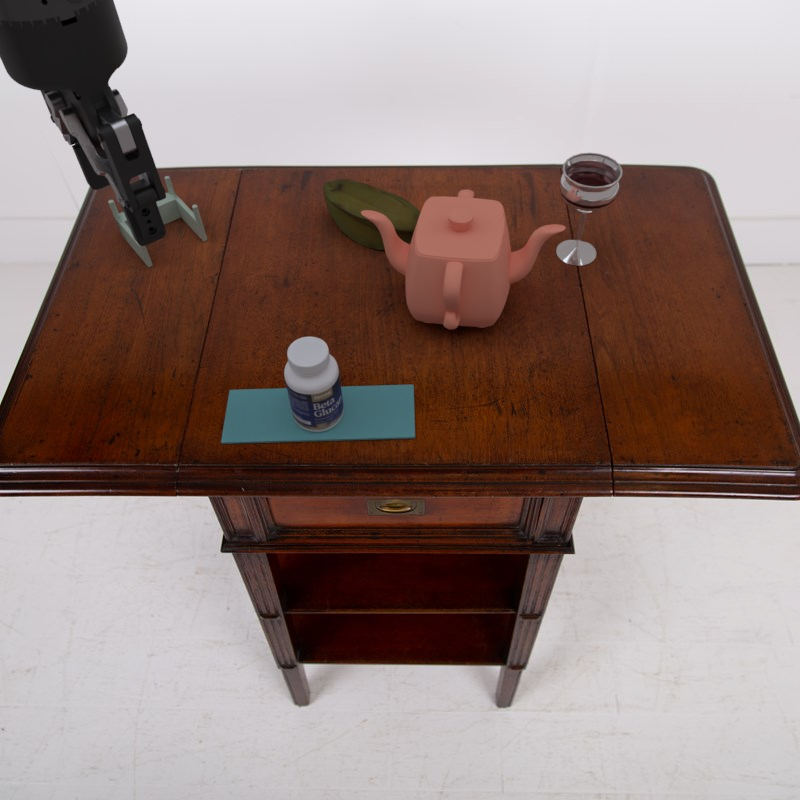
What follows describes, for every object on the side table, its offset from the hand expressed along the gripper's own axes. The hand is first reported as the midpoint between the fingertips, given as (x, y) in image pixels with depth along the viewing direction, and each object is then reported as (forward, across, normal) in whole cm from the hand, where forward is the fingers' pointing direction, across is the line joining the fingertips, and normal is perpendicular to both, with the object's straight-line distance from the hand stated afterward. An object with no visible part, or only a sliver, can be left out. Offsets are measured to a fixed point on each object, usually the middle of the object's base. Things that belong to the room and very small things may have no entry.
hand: (127, 211), depth 57 cm
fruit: (+28, -15, +32) cm, 45 cm away
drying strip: (+28, +5, +10) cm, 30 cm away
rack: (+28, -32, +10) cm, 44 cm away
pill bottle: (+28, +5, +10) cm, 30 cm away
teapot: (+28, +1, +32) cm, 43 cm away
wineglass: (+28, +4, +49) cm, 57 cm away
